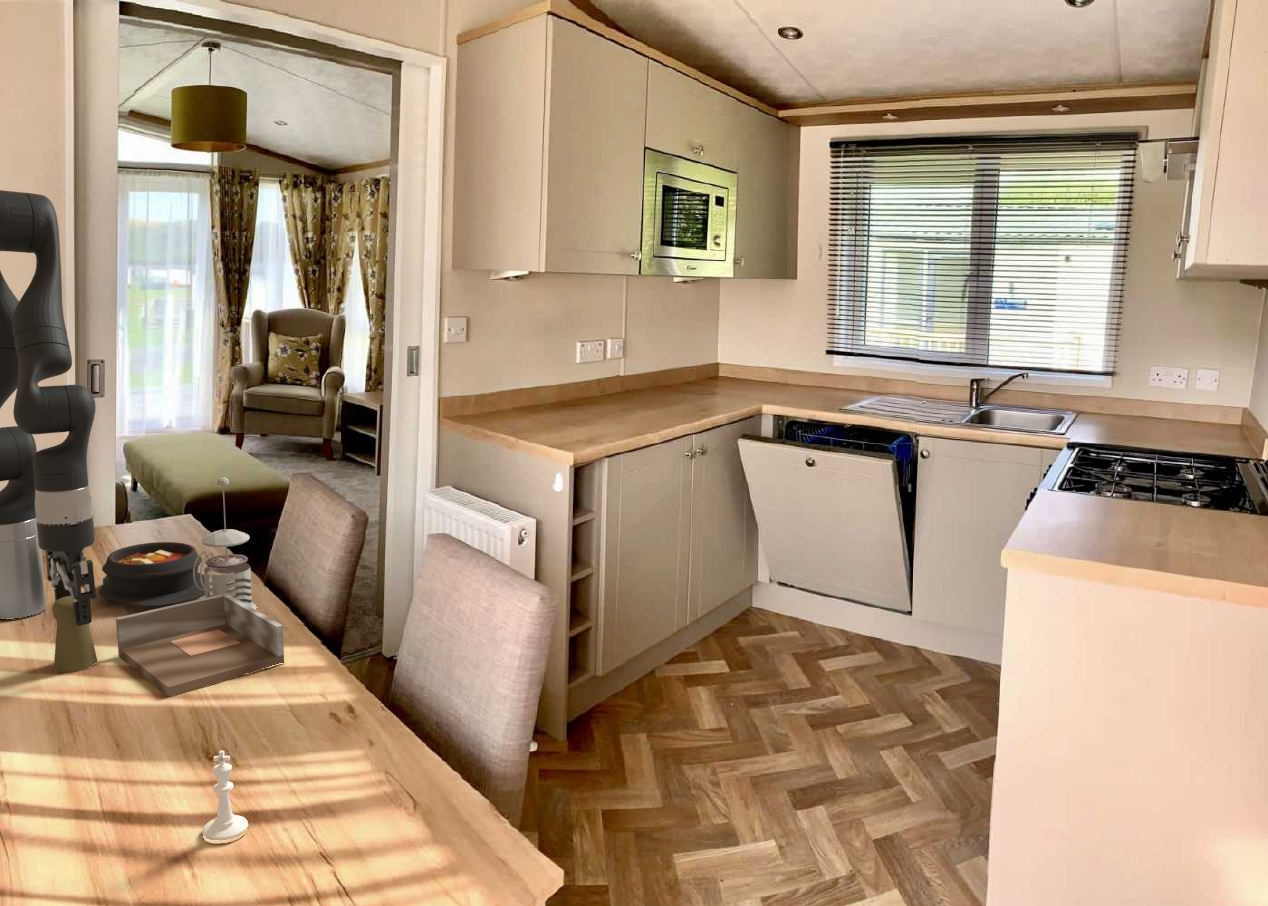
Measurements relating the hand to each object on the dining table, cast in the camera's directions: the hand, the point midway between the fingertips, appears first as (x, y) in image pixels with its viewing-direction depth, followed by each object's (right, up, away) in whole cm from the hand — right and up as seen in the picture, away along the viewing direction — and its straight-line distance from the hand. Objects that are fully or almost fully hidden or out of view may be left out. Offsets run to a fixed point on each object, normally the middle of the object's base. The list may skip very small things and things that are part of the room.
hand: (73, 617), depth 153 cm
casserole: (-4, -2, +33) cm, 34 cm away
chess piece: (+41, -18, -41) cm, 60 cm away
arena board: (+18, -8, +5) cm, 20 cm away
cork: (-1, -8, +2) cm, 8 cm away
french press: (+13, -4, +26) cm, 29 cm away
